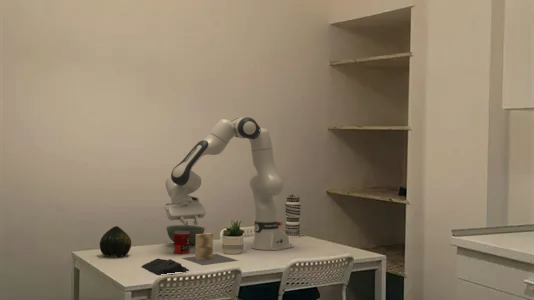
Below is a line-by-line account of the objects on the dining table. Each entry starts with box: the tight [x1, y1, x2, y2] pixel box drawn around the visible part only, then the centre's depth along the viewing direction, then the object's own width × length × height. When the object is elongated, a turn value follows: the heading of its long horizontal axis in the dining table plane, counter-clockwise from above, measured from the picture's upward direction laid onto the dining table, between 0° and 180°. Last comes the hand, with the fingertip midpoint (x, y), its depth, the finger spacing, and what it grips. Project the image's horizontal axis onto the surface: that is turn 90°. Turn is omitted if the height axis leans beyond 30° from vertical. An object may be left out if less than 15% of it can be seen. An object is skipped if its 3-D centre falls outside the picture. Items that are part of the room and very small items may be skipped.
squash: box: [99, 225, 132, 258], centre depth 311 cm, size 14×15×15 cm
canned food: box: [173, 231, 190, 255], centre depth 319 cm, size 8×8×11 cm
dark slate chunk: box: [141, 258, 190, 276], centre depth 282 cm, size 15×22×5 cm
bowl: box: [166, 224, 206, 247], centre depth 342 cm, size 21×21×10 cm
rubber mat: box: [181, 253, 240, 266], centre depth 303 cm, size 20×20×1 cm
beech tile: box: [194, 232, 214, 260], centre depth 304 cm, size 8×2×12 cm, turn 127°
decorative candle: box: [284, 193, 301, 238], centre depth 378 cm, size 9×9×25 cm
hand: (191, 224), depth 313 cm, fingers open, 4 cm apart
